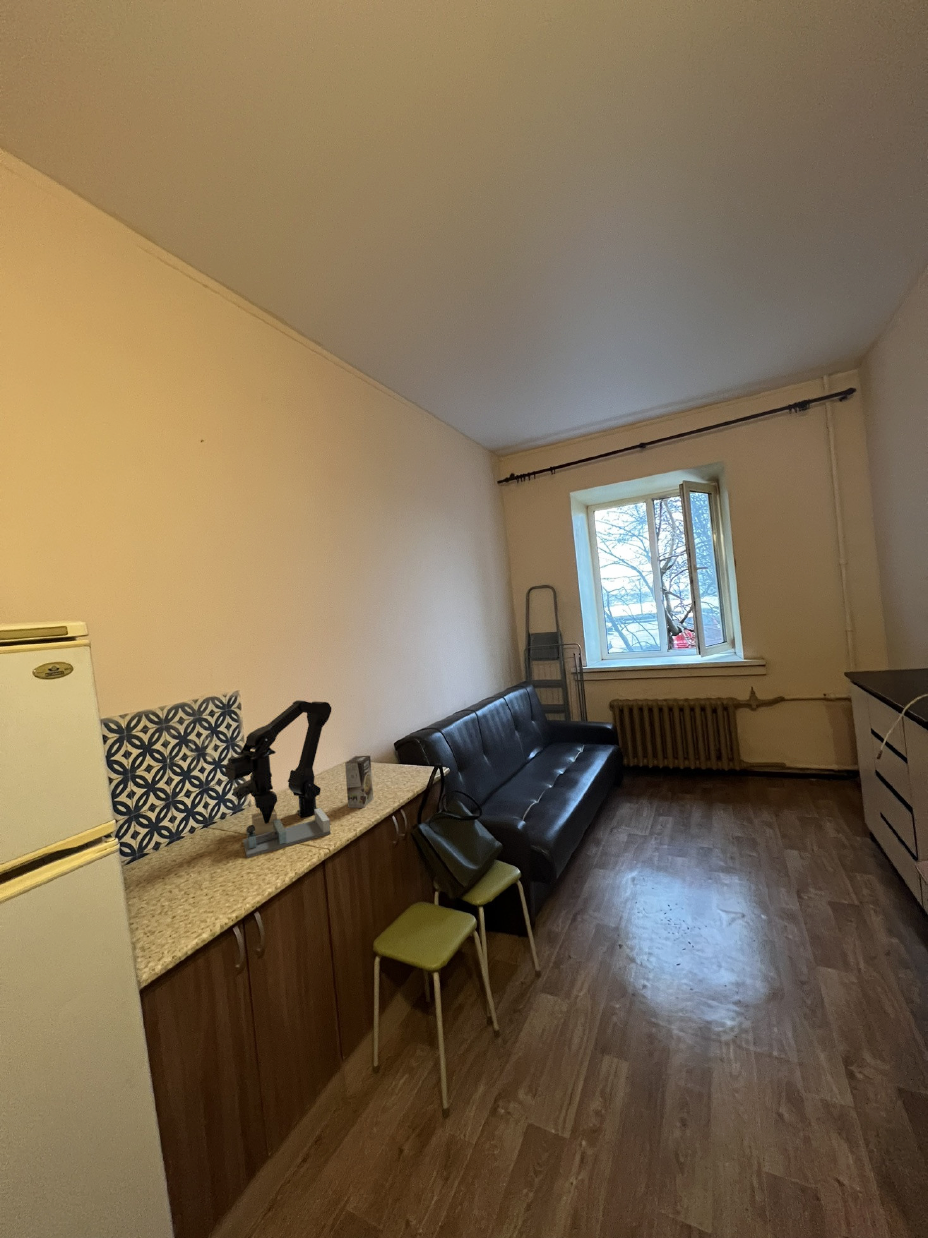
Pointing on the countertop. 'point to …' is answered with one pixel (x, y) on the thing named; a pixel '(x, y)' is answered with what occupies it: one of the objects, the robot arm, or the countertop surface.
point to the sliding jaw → (278, 833)
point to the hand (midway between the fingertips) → (264, 818)
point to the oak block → (263, 823)
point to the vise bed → (293, 835)
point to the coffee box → (359, 781)
